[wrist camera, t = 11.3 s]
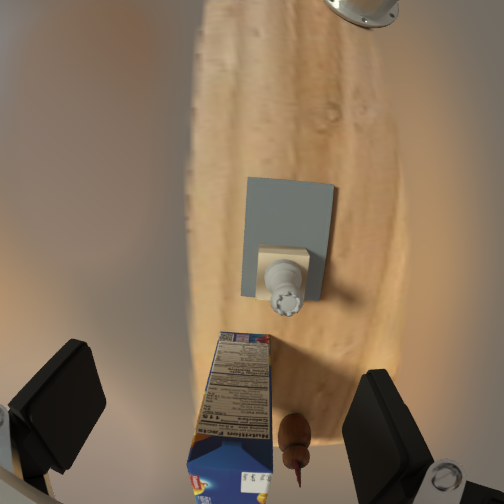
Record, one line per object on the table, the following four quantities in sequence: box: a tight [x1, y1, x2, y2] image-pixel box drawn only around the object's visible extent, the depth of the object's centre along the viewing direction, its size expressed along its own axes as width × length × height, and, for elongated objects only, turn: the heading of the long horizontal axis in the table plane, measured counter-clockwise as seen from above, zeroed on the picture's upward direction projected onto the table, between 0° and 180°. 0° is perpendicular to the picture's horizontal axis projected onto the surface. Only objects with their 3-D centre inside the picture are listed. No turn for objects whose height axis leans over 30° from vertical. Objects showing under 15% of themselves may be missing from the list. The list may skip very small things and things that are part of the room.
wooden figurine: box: [278, 414, 311, 487], centre depth 40 cm, size 7×6×15 cm
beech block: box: [255, 244, 310, 300], centre depth 36 cm, size 6×6×4 cm
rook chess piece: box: [264, 259, 304, 317], centre depth 30 cm, size 4×4×8 cm
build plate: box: [241, 177, 334, 301], centre depth 37 cm, size 16×11×1 cm
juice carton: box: [187, 332, 273, 504], centre depth 32 cm, size 12×8×24 cm, turn 177°
